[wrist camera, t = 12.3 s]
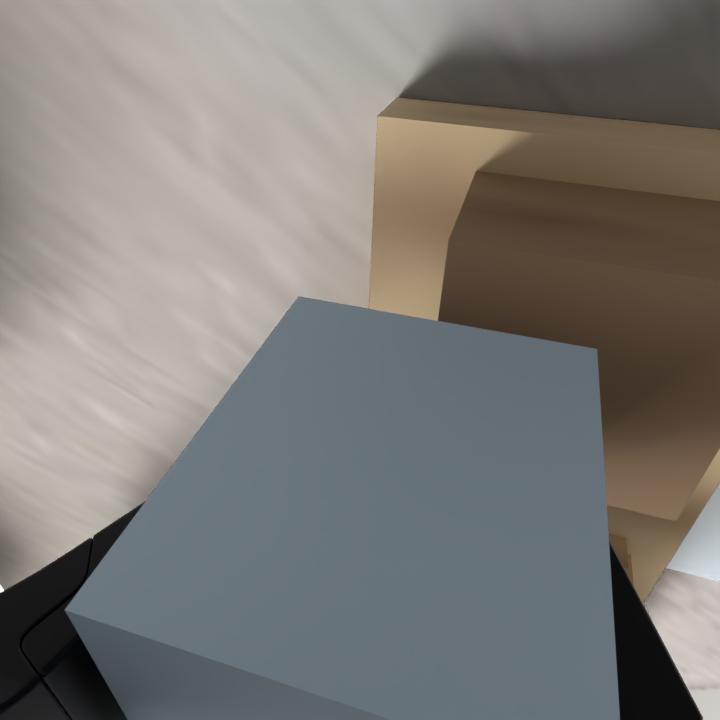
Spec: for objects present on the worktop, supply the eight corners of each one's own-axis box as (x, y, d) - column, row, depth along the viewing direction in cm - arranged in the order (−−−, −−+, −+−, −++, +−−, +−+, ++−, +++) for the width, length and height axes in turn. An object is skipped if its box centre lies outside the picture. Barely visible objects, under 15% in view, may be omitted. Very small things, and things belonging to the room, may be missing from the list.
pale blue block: (531, 539, 12) (506, 921, 7) (309, 484, 13) (165, 785, 8) (596, 348, 9) (625, 798, 4) (298, 296, 10) (65, 609, 5)
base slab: (595, 632, 26) (601, 781, 22) (367, 567, 28) (328, 689, 24) (872, 145, 13) (1042, 264, 8) (396, 97, 15) (320, 169, 10)
